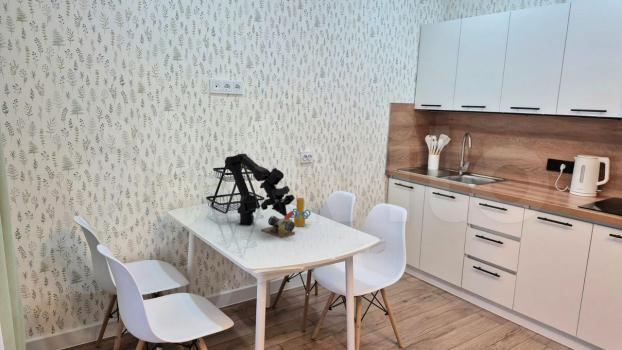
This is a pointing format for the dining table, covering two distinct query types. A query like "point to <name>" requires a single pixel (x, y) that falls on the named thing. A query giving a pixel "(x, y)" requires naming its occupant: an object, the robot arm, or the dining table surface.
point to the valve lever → (285, 218)
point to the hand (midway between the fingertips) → (286, 216)
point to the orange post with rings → (300, 213)
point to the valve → (280, 227)
